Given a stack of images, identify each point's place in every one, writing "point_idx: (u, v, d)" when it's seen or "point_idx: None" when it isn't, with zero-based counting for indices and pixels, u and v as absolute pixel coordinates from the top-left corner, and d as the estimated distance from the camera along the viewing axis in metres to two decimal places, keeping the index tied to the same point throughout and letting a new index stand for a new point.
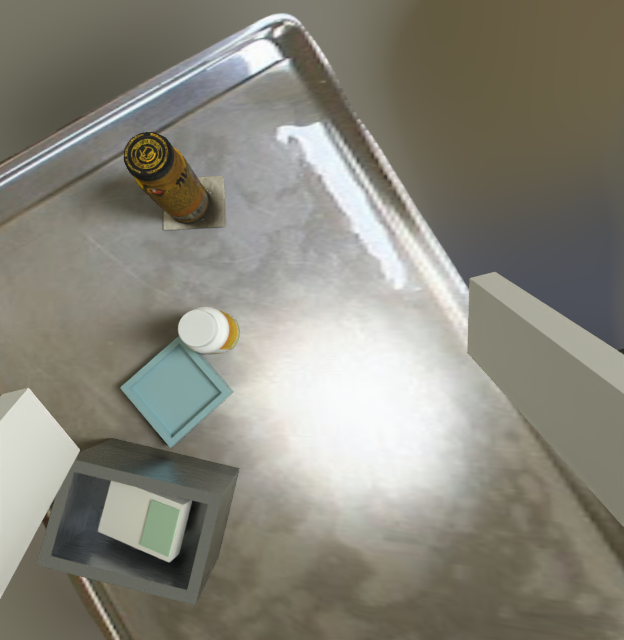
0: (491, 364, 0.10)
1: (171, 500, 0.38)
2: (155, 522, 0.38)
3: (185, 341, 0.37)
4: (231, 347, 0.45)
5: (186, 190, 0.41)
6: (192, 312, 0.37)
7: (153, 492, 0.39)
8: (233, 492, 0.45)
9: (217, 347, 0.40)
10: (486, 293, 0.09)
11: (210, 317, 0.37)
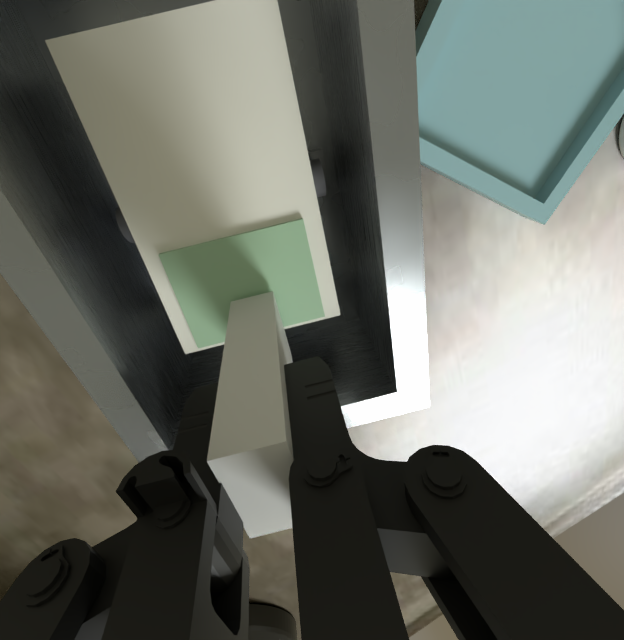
0: None
1: (331, 276, 0.13)
2: (253, 268, 0.12)
3: None
4: None
5: None
6: None
7: (317, 204, 0.12)
8: None
9: None
10: None
11: None
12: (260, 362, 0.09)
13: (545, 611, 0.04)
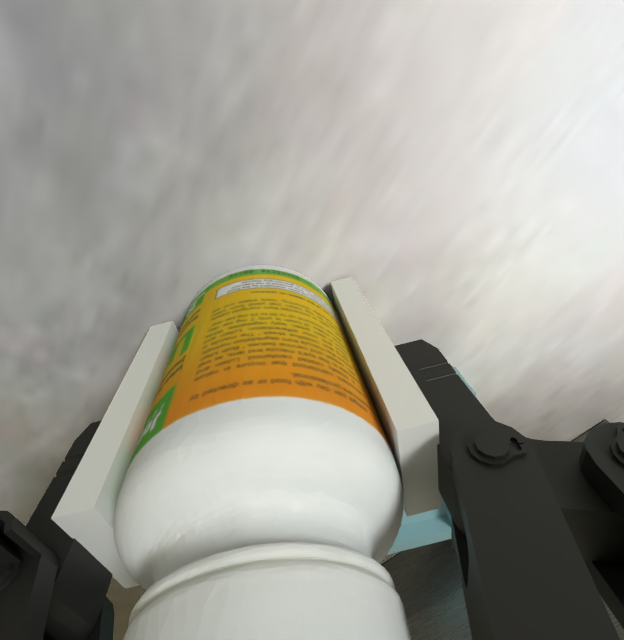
0: None
1: None
2: None
3: None
4: None
5: None
6: None
7: None
8: None
9: None
10: (336, 295, 0.11)
11: None
12: (371, 344, 0.08)
13: None
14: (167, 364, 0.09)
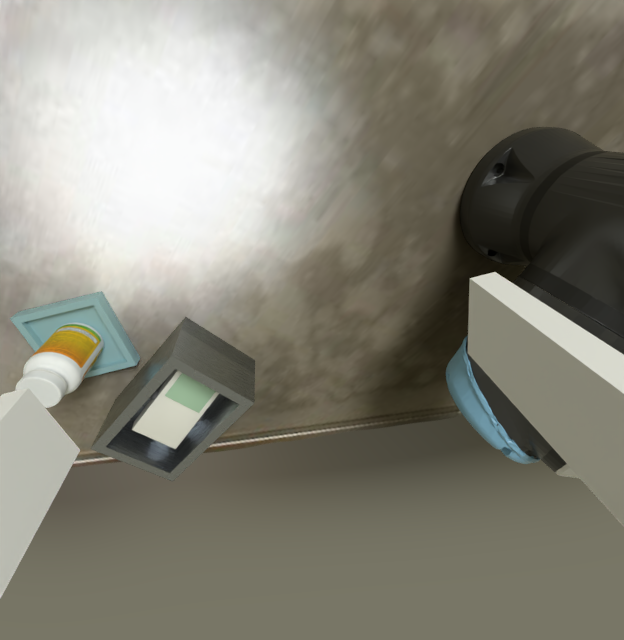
0: (491, 364, 0.10)
1: (171, 378, 0.42)
2: (185, 395, 0.43)
3: (51, 405, 0.36)
4: (96, 341, 0.42)
5: None
6: None
7: (159, 393, 0.43)
8: (205, 330, 0.45)
9: (76, 372, 0.37)
10: (486, 293, 0.09)
11: (28, 378, 0.34)
12: (590, 354, 0.07)
13: None
14: None
